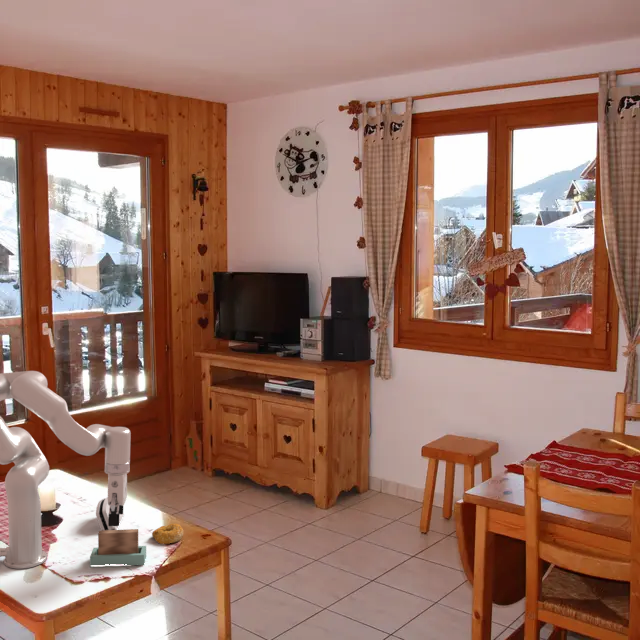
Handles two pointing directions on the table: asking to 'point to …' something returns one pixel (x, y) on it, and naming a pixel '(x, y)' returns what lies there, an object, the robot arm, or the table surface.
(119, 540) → the brown wooden board
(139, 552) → the green rectangular tray
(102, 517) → the white curved piece
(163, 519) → the table surface
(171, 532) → the bagel
